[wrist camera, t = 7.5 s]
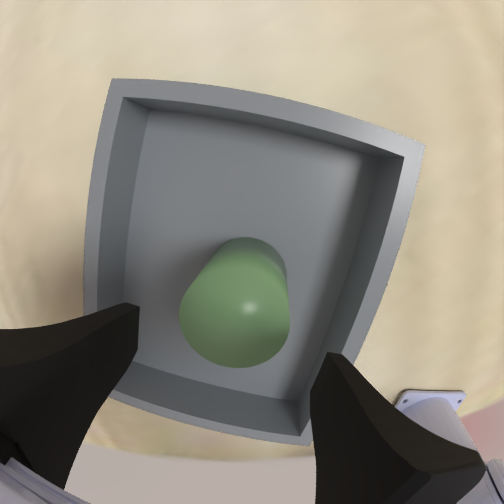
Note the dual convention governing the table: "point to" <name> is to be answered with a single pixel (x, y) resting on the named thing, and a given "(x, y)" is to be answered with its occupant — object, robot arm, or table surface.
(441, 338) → the table surface
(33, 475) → the robot arm
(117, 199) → the bin
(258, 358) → the green rounded tapered piece
